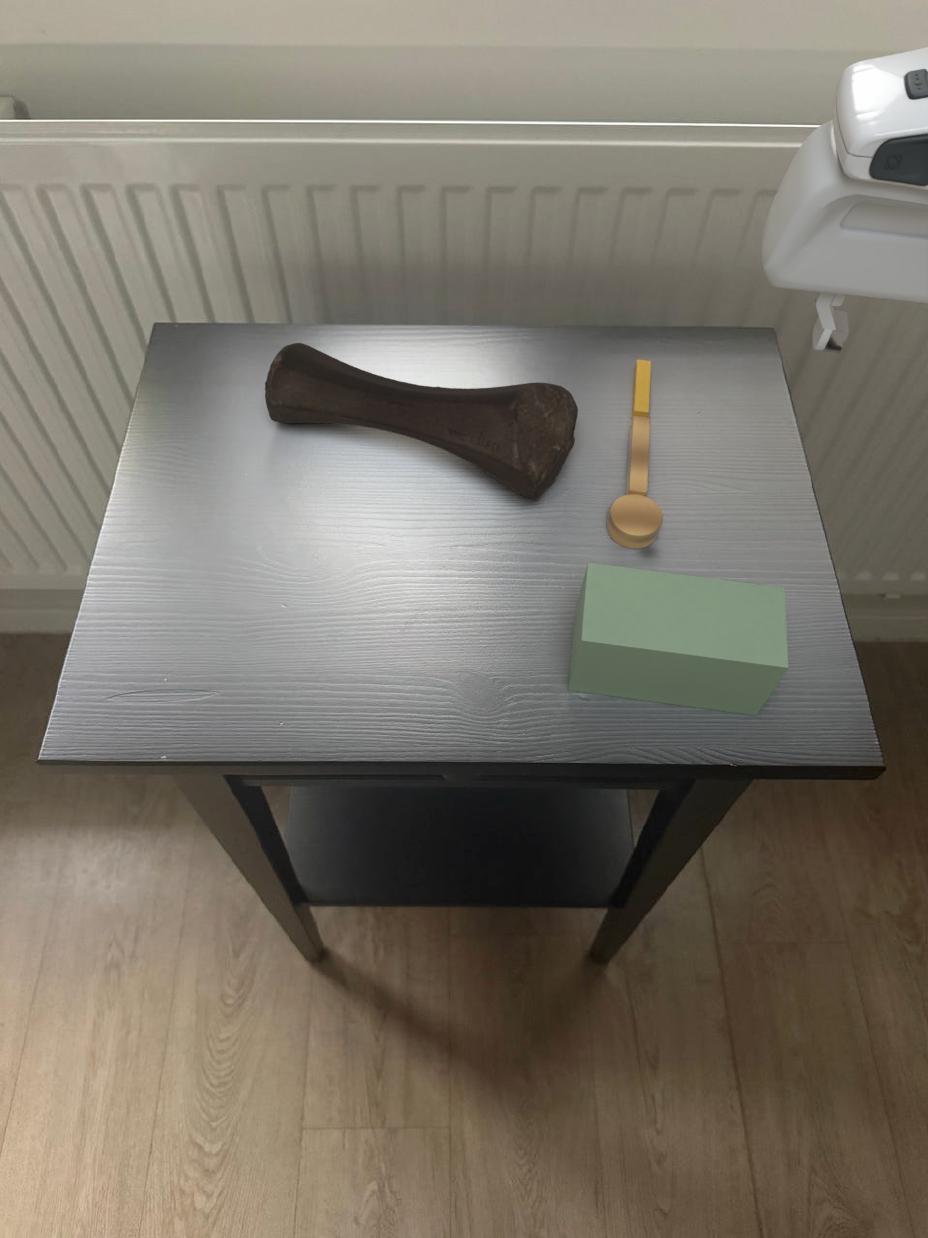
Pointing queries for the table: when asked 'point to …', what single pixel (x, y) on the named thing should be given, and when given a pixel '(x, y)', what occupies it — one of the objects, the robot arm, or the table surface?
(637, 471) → the spoon
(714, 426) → the table surface
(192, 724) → the table surface
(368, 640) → the table surface
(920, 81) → the robot arm
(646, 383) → the fry
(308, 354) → the dark brown bone
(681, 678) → the sage green box
